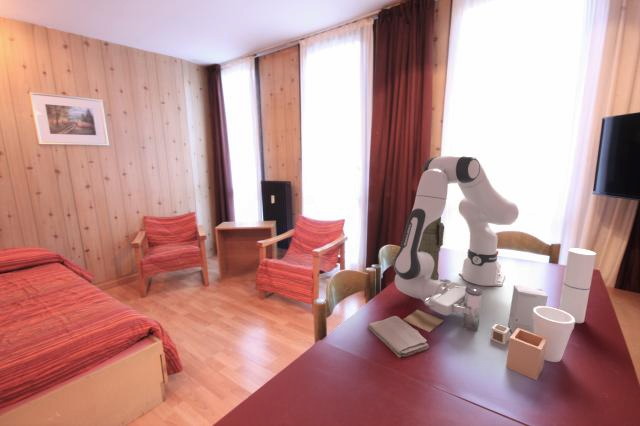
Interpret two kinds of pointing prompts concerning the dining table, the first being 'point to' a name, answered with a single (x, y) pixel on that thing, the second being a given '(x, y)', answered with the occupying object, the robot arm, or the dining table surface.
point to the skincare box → (525, 307)
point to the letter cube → (500, 333)
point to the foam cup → (553, 330)
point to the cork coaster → (423, 320)
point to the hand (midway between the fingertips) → (475, 306)
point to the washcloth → (399, 336)
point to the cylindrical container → (577, 283)
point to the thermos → (433, 243)
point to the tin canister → (472, 308)
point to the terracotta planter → (526, 353)
